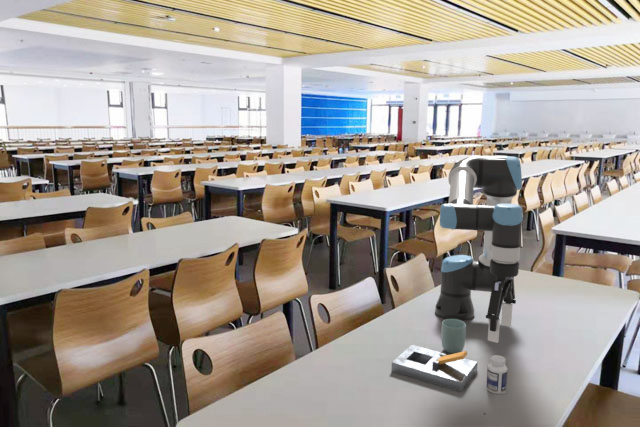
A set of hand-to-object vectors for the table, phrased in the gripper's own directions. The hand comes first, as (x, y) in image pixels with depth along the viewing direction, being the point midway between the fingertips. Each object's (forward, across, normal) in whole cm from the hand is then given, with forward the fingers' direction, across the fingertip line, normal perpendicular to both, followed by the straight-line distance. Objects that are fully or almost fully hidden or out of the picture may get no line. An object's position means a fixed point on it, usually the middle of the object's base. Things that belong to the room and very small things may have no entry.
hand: (499, 332), depth 146 cm
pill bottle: (+18, 0, 0) cm, 18 cm away
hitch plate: (+18, -1, -19) cm, 26 cm away
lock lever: (+12, -1, -14) cm, 19 cm away
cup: (+18, -17, -19) cm, 31 cm away
